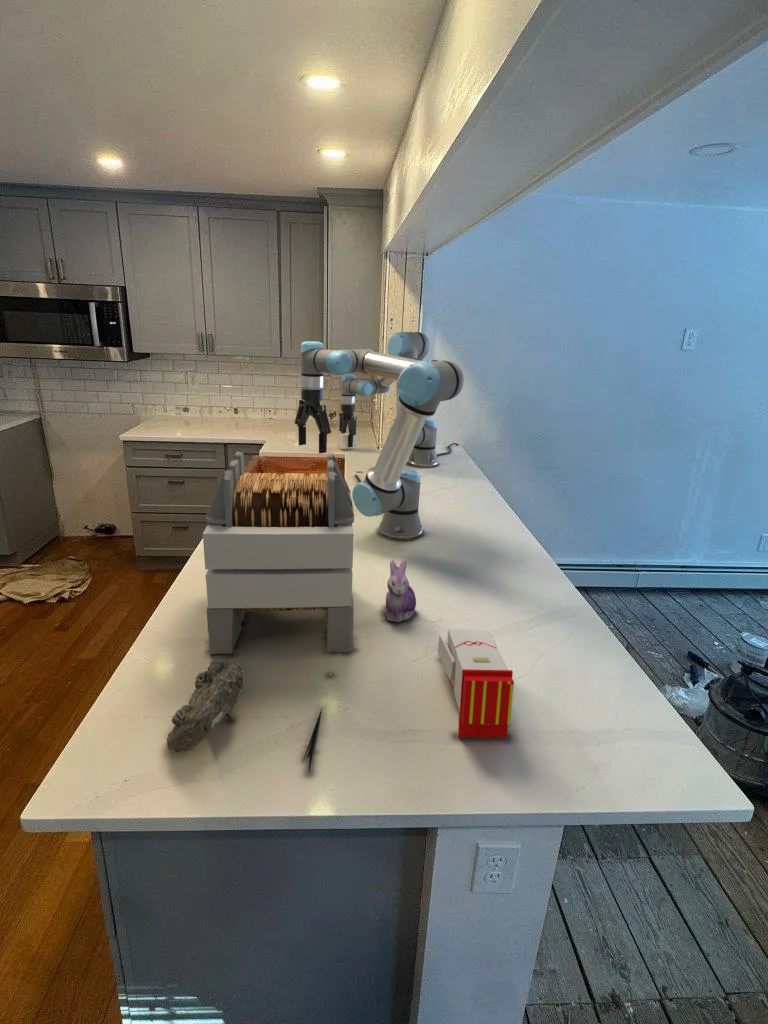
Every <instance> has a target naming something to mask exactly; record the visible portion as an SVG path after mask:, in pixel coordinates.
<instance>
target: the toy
mask: <svg viewBox="0 0 768 1024" xmlns="http://www.w3.org/2000/svg"><path fill="white" fill-rule="evenodd" d="M446 640H447V643H446V641H445V639H444V636H443V635H442V634H439V637H438V646H437V656H438V657H439V659H440V661H441V663H442V666H443V668H444V670H445V672H446V674H447V677H448V679H449V681H450V684H451V687H452V690H453V693H454V697H455V701H456V705H457V708H458V711H459V714H458V715H459V716H458V730H457V731H458V732H457V737H458V738H508V731H509V726H510V725H511V717H512V707H513V697H514V696H513V695H514V684H515V680H514V679H513V673H514V671H513V670H512V669H508V667H507V665H506V662H505V661H504V659H503V658H502V655H501V653H500V651H499V649H498V647H497V643H496V639H495V637H494V635H493V634H491V632H490V631H489V629H467V628H466V629H465V628H463V629H461V628H460V629H459V628H448V630H447V639H446Z"/></svg>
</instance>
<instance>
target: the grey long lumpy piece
mask: <svg viewBox="0 0 768 1024" xmlns="http://www.w3.org/2000/svg"><path fill="white" fill-rule="evenodd" d="M243 670H244V669H243V667H242V665H240V664H237V662H236V661H235V660H234V659H232V658H231V659H227V658H226V659H224V660H223V661H222V660H217V659H212V660H211V661H210V663H209V665H208V666H207V671H201V672H199V673H198V674H197V675H196V676H195V680H194V684H195V685H194V687H195V689H194V690H193V693H192V694H191V697H190V698H189V700H188V704H184V705H182V706H181V707H180V709H177V710H176V711H175V713H174V715H173V716H172V718H171V723H172V724H173V727H172V730H171V731H170V732H168V734H167V738H166V741H167V742H166V745H167V749H168V750H169V751H173V752H174V753H176V754H178V753H182V752H188V751H189V752H192V751H193V750H195V748H196V747H197V746H199V744H200V743H201V742H203V741H204V740H205V739H206V738H207V737H208V736H209V735H210V734H211V733H212V732H214V730H215V729H217V727H218V726H219V724H220V722H221V721H222V720H223V719H224V718H225V716H226V717H227V719H229V720H233V717H232V715H230V714H229V710H230V709H231V708H234V706H235V704H236V703H237V702H238V699H239V697H240V695H241V693H242V691H243V690H245V689H244V688H245V675H244V671H243Z"/></svg>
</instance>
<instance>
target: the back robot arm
mask: <svg viewBox="0 0 768 1024" xmlns="http://www.w3.org/2000/svg"><path fill="white" fill-rule="evenodd" d="M386 347H387V348H386V350H387V354H388V355H394V356H399V357H404V358H410V359H415V360H420V361H423V359H425V358H426V357H427V355H428V354H429V352H430V351H431V350H430V349H431V341H430V339H429V337H428V336H427V335H426V334H425V333H423V332H420V331H398V332H394V333H393V334H392V335H391V336H390V337H389V339H388V341H387V346H386ZM393 383H395V388H396V389H395V394H396V395H395V396H396V399H395V400H396V414H397V413H398V411H399V409H400V406H401V405H400V403H399V401H398V398H399V394H398V390H399V389H398V388H397V383H398V380H393V379H389V378H385V377H380V376H377V377H376V378H374V379H357V377H356V375H355V374H354V373H353V374H352V373H347V374H345V375H341V381H340V384H341V385H340V386H341V392H340V394H341V395H340V403H341V404H340V411H341V412H342V413H341V412H339V413H338V415H339V421H338V422H339V424H338V425H339V426H338V427H339V428H338V431H339V432H340V434H342V433H349V435H348V447H351V448H354V447H353V436H354V435H356V434H357V420H358V416H355V414H354V412H355V411H356V404H355V403H356V395H358V396H361V397H368V396H370V395H377V394H380V395H382V394H386V393H388V392H389V391H390V389H391V386H392V385H393ZM394 420H395V418H394V419H393V421H394ZM347 428H348V431H347ZM391 428H392V425H391V426H390V428H389V430H388V433H389V432H390V430H391ZM437 433H438V423H437V421H436V420H434V419H429V418H427V419H426V421H425V423H424V425H423V427H422V430H421V432H420V434H419V436H418V438H417V441H416V443H415V445H414V447H413V449H412V451H411V454H410V456H409V458H408V460H407V463H408V465H410V466H413V467H417V468H433V467H437V466H438V465H439V460H438V459H439V458H438V457H439V456H442V455H443V456H445V455H449V454H450V453H451V452H452V449H451V447H452V446H454V445H456V446H459V444H458V443H457V442H452V443H450V444H448V445H447V448H448V450H449V451H447V452H441V453H438V454H437V450H436V445H437V444H436V443H437Z"/></svg>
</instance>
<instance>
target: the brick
mask: <svg viewBox="0 0 768 1024" xmlns="http://www.w3.org/2000/svg"><path fill="white" fill-rule="evenodd" d="M348 435H349V432H347V433H337V448H340V449H343V450H344V449H351V448H357V438H358V437H357V433H356V435H354V436H353V447H348Z"/></svg>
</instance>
